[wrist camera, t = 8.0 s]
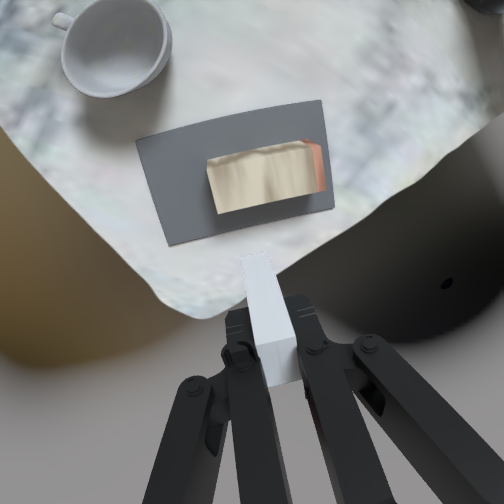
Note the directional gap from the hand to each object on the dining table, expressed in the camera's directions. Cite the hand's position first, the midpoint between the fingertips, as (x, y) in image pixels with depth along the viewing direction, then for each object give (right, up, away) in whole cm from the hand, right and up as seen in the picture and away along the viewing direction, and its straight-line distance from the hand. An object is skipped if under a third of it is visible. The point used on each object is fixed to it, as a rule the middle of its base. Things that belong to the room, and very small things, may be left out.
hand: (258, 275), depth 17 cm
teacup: (-15, +25, +10) cm, 31 cm away
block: (-5, +9, +17) cm, 20 cm away
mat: (-2, +11, +20) cm, 22 cm away
